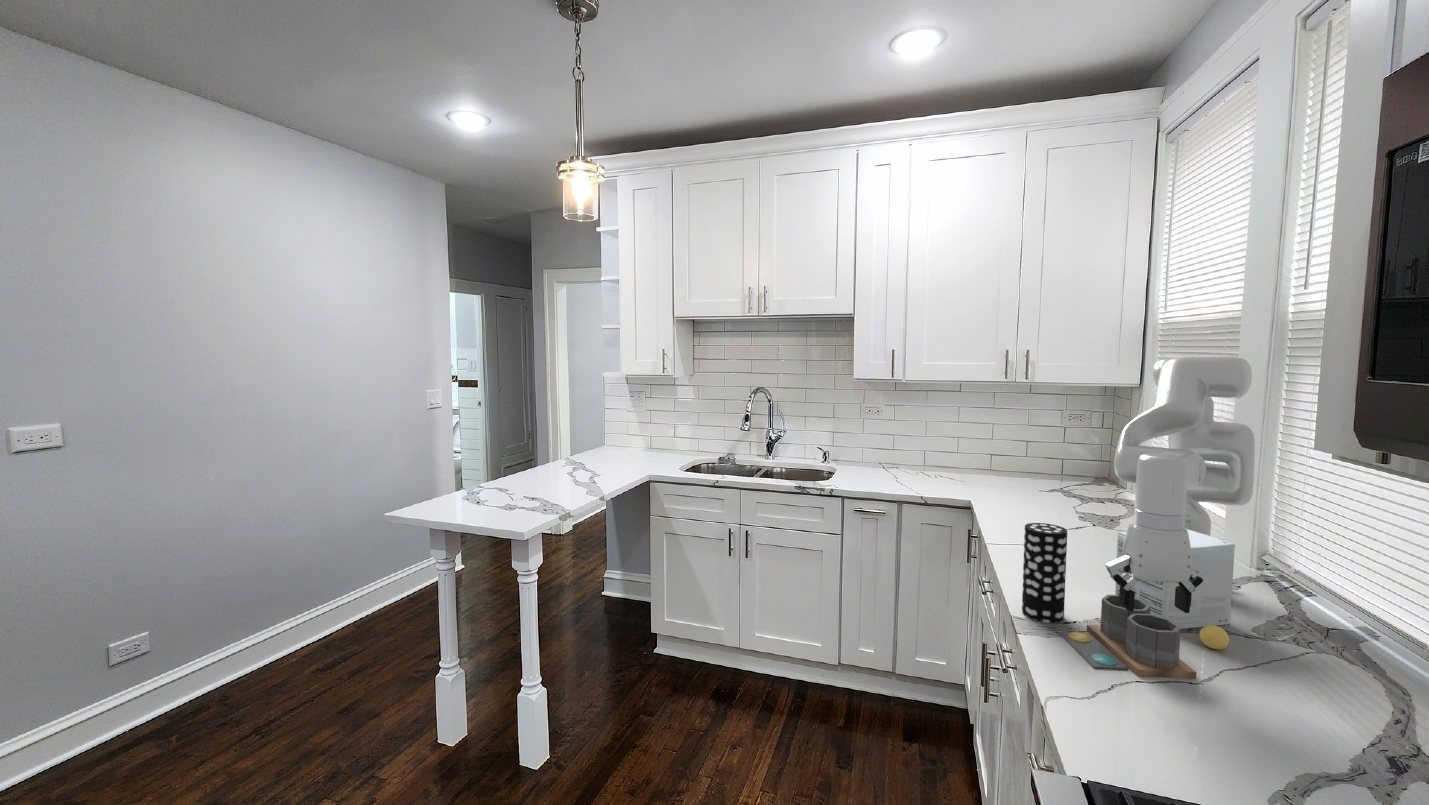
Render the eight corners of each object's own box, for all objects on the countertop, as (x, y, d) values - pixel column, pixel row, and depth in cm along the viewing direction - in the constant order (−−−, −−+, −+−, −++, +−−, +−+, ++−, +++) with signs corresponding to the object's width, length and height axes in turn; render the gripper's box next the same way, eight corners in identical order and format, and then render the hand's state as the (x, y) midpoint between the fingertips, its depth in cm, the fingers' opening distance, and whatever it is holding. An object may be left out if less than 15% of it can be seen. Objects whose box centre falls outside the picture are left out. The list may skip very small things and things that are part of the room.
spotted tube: (1059, 609, 137) (1062, 524, 135) (1067, 625, 129) (1071, 535, 127) (1019, 604, 139) (1021, 521, 138) (1025, 620, 132) (1028, 532, 130)
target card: (1089, 634, 125) (1089, 631, 125) (1128, 669, 111) (1128, 666, 111) (1058, 633, 125) (1059, 630, 125) (1094, 668, 111) (1094, 665, 111)
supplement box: (1174, 600, 141) (1179, 525, 140) (1232, 625, 128) (1237, 543, 127) (1111, 606, 138) (1115, 530, 137) (1163, 632, 125) (1168, 549, 124)
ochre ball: (1217, 643, 120) (1218, 621, 120) (1234, 654, 116) (1235, 632, 116) (1193, 642, 121) (1194, 620, 121) (1209, 653, 116) (1210, 631, 116)
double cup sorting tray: (1136, 631, 126) (1138, 594, 125) (1196, 678, 108) (1198, 634, 107) (1086, 630, 127) (1088, 592, 126) (1137, 675, 109) (1139, 632, 108)
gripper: (1195, 515, 113) (1189, 602, 115) (1098, 514, 115) (1094, 599, 116) (1224, 527, 106) (1218, 619, 107) (1121, 525, 108) (1116, 616, 109)
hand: (1154, 609), depth 112 cm, fingers open, 9 cm apart
